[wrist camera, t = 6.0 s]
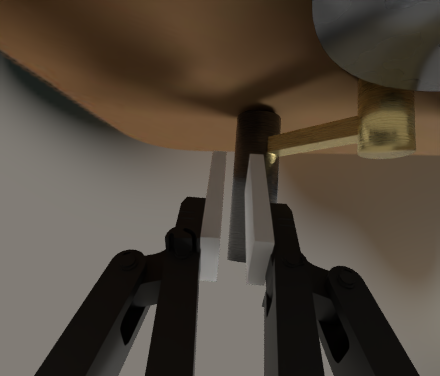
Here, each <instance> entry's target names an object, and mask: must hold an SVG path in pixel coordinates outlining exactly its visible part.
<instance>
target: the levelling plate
mask: <svg viewBox="0 0 440 376" xmlns="http://www.w3.org/2000/svg"><path fill="white" fill-rule="evenodd" d="M312 12H313V21H314V26H315V30H316V34H317V36H318V38H319V41H320V43H321V45H322V47H323V49H324V50H325V51H326V53H327V54H328V55H329V57H330V58H331V59H332V60H333V61H334V62H335V63H336V64H338V65H339V66H340V67H341V68H342V69H344V70H346V71H347V72H349V73H350V74H352V75H354V76H356V77H358V78H361V79H363V80H365V81H368V82H371V83H375V84H378V85H381V86H386V87H392V88H397V89H405V90H414V91H440V0H312Z"/></svg>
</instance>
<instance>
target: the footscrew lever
mask: <svg viewBox="0 0 440 376" xmlns="http://www.w3.org/2000/svg"><path fill="white" fill-rule="evenodd" d="M280 129H281V118H280V116H278V115H277V114H275V113H272V112H268V111H248V112H244V113H242V114H240V115H239V116H238V118H237V131H236V145H235V160H234V173H233V188H232V201H231V215H230V230H229V243H228V257H227V258H228V260H232V261H237V262H245V263H246V234H245V186H246V179H247V171H248V164H249V157H250V154H261V155H264V163H265V171H266V178H267V186H268V194H269V202H270V203H277V191H278V171H279V156H284V155H290V154H296V153H302V152H308V151H314V150H320V149H325V148H331V147H337V146H343V145H349V144H355V143H358V146H357V154H358V155H359V156H361V157H364V158H370V159H389V158H397V157H403V156H407V155H410V154H412V153H414V152H415V151H416V141H415V104H414V90H405V89H397V88H392V87H386V86H381V85H378V84H375V83H371V82H368V81H365V80H363V79H361V78H359V79H358V116H354V117H350V118H346V119H342V120H337V121H333V122H329V123H325V124H321V125H316V126H312V127H308V128H304V129H299V130H295V131H291V132H287V133H283V134H280Z"/></svg>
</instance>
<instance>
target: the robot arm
mask: <svg viewBox="0 0 440 376" xmlns="http://www.w3.org/2000/svg"><path fill="white" fill-rule="evenodd" d="M226 153H227V152H223V151H213V156H212V162H211V168H210V175H209V182H208V189H207V195H206V198H197V197H187V198H186V199H185V200H184V201H183V202H182V203H181V206H180V210H179V214H178V219H177V222H176V227H174V228H172V229H171V230H169V232H167V234H166V236H165V243H166V249H165V250H164V251H162V252H160V253H157V254H153V255H147V256H144V255H143V253H142V252H140V251H137V250H126V251H122V252H120V253H118V254H117V255H116V256H115V257H114V258H113V259H112V260H111V262H110V263H109V265H108V266H107V268H106V269H105V271H104V272H103V274H102V275H101V277H100V278H99V280H98V281H97V283H96V284H95V285H94V287H93V288H92V290H91V291H90V293H89V295H88V296H87V297H86V299H85V301H84V302H83V304H82V305H81V307H80V308H79V309H78V311H77V313H76V314H75V315H74V317H73V319H72V320H71V321H70V323H69V324H68V326H67V327H66V329H65V330H64V332H63V333H62V335H61V336H60V338H59V339H58V341H57V342H56V344H55V345H54V347H53V349H52V350H51V351H50V353H49V355H48V356H47V357H46V359H45V360H44V362H43V363H42V365H41V366H40V368H39V369H38V371H37V372H36V374H35V375H34V376H118V375H119V373H120V371H121V368H122V366H123V364H124V362H125V360H126V358H127V356H128V353H129V351H130V349H131V347H132V345H133V342H134V340H135V338H136V336H137V334H138V332H139V329H140V327H141V325H142V323H143V321H144V319H145V316H146V314H147V312H148V310H149V308H150V305H154V304H157V308H156V314H155V320H154V326H153V332H152V337H151V344H150V349H149V355H148V361H147V367H146V372H145V376H194V371H195V352H196V332H197V312H198V311H197V310H198V292H199V280H204V281H216V280H217V270H218V259H219V246H220V235H221V221H222V207H223V194H224V180H225V167H226ZM245 234H246V281H247V282H246V283H247V284H252V285H264V283H265V279H266V292H265V296H264V300H263V304H262V307H264V308H265V309H264V312H265V315H264V319H265V320H264V322H265V323H264V332H265V333H264V339H265V340H264V376H324V369H323V362H322V355H321V348H320V341H321V343H322V346H323V348H324V351H325V354H326V356H327V359H328V362H329V364H330V367H331V370H332V372H333V375H334V376H419V374H418V372H417V371H416V369H415V367H414V365H413V364H412V362H411V360H410V359H409V357H408V356H407V354H406V352H405V350H404V348H403V347H402V345H401V343H400V342H399V340H398V338H397V336H396V335H395V333H394V331H393V330H392V328H391V326H390V325H389V323H388V321H387V320H386V318H385V316H384V314H383V313H382V311H381V310H380V308H379V306H378V304H377V303H376V301H375V299H374V297H373V296H372V294H371V292H370V291H369V289H368V287H367V286H366V284H365V282H364V281H363V279H362V278H361V276H360V275H359V274H358V273H357V272H355V271H354V270H352V269H350V268H348V267H345V266H336V267H333V268H332V269H331V270H330V271H328V270H325V269H322V268H320V267H317V266H314V265H312V264H311V263H310V262H308V261H307V259H306V257H305V256H304V255H303V254H302V253H301V251H300V247H299V242H298V238H297V233H296V228H295V224H294V219H293V214H292V211H291V209H290V208H289V207H288V206H287V204H278V203H270V202H269V194H268V186H267V178H266V171H265V163H264V155H261V154H250V157H249V164H248V171H247V179H246V186H245ZM319 338H320V341H319Z"/></svg>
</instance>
